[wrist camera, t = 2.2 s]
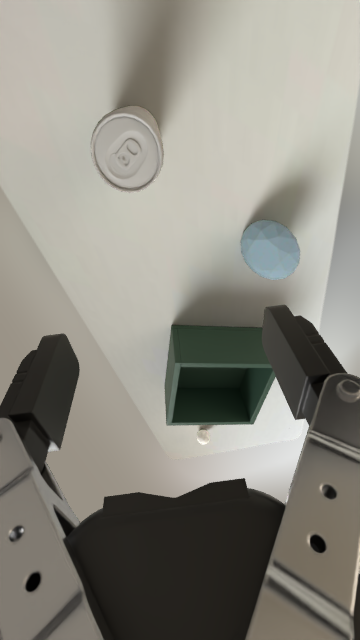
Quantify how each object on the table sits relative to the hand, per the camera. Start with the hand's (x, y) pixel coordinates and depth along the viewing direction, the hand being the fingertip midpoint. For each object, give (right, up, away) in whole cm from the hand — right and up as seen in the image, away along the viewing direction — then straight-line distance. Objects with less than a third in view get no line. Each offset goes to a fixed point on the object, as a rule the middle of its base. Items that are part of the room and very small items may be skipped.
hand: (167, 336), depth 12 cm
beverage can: (-4, +19, +16) cm, 25 cm away
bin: (+6, -6, +37) cm, 38 cm away
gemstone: (+11, +11, +24) cm, 29 cm away
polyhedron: (+5, -23, +51) cm, 56 cm away
